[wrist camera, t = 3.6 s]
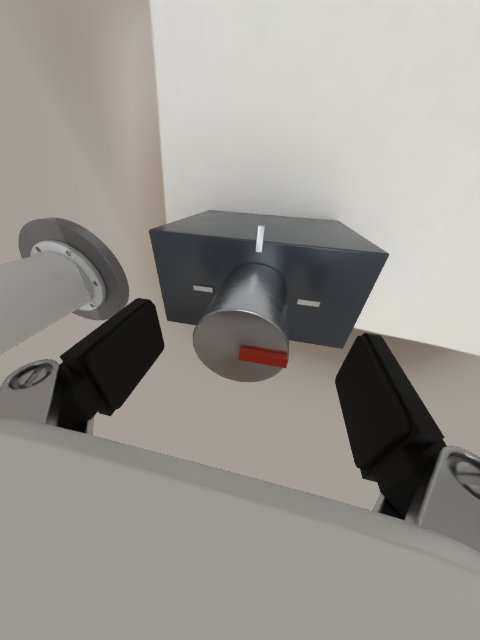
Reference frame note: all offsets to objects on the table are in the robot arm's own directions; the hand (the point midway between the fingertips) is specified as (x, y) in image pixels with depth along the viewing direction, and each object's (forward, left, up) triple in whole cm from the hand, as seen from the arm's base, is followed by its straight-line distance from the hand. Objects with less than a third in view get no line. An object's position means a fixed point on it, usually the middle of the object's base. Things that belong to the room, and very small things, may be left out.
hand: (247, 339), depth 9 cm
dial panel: (0, 0, -17) cm, 17 cm away
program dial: (0, 0, -5) cm, 5 cm away
